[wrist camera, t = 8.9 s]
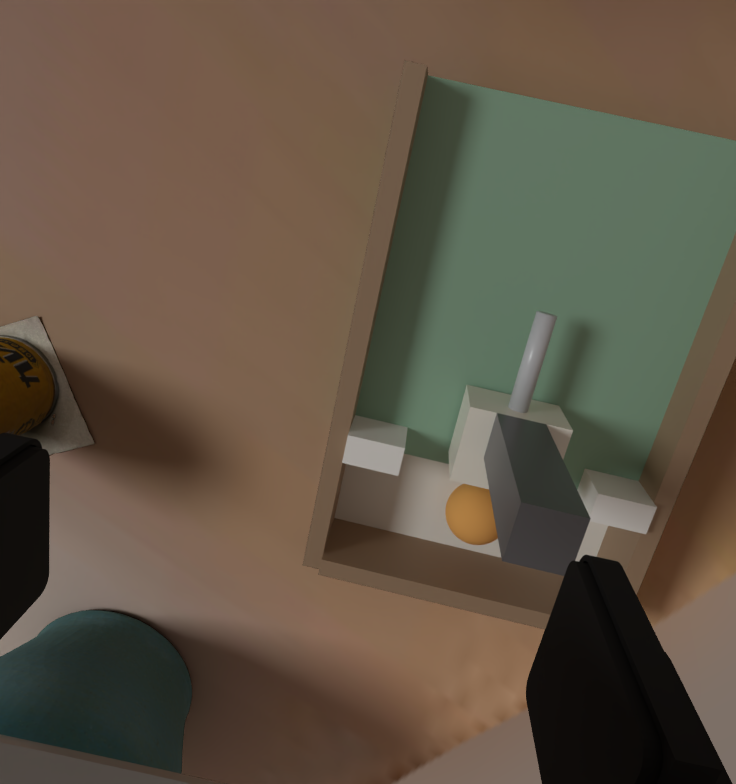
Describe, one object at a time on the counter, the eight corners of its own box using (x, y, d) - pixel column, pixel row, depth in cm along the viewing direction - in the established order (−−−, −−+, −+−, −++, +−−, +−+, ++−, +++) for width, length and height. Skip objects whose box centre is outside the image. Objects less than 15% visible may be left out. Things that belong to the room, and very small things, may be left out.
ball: (436, 527, 37) (450, 469, 37) (495, 540, 37) (509, 483, 37) (441, 545, 34) (456, 481, 34) (506, 560, 34) (521, 496, 33)
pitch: (408, 78, 31) (403, 57, 26) (768, 154, 30) (829, 148, 26) (317, 524, 39) (300, 570, 35) (597, 591, 39) (619, 647, 34)
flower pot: (231, 576, 41) (100, 822, 25) (245, 781, 47) (146, 1090, 31) (-23, 559, 43) (-297, 778, 27) (20, 758, 49) (-186, 1039, 32)
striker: (491, 294, 32) (524, 358, 20) (588, 316, 31) (681, 393, 19) (448, 451, 34) (454, 589, 22) (537, 472, 34) (590, 622, 22)
